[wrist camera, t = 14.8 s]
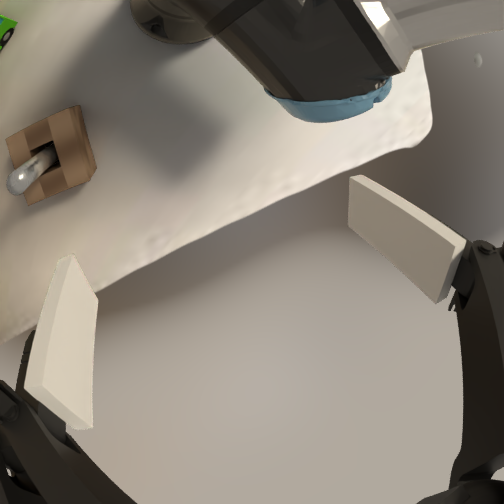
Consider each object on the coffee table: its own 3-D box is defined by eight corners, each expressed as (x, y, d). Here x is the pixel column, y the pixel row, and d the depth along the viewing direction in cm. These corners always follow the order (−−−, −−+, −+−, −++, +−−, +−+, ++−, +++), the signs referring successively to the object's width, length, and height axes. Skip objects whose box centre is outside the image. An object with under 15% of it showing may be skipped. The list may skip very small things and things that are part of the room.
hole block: (22, 131, 29) (5, 139, 24) (79, 104, 31) (68, 107, 26) (41, 190, 35) (28, 205, 30) (96, 168, 37) (89, 180, 32)
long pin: (49, 144, 32) (3, 177, 19) (63, 138, 32) (21, 167, 20) (54, 159, 33) (11, 198, 21) (67, 153, 34) (28, 190, 21)
